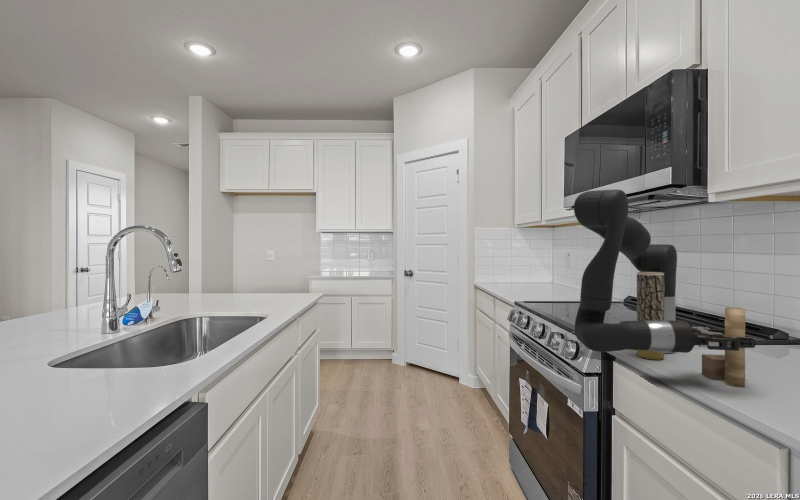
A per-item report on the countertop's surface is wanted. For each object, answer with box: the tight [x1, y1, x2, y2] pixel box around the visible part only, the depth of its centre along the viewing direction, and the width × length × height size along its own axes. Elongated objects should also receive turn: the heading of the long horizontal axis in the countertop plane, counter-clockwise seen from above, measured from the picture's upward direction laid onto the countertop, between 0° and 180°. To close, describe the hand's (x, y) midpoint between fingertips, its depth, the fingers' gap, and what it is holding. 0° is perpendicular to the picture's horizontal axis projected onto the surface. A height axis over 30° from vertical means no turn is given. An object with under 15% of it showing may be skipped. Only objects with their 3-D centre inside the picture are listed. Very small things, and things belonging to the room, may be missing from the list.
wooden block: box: [701, 353, 725, 381], centre depth 95 cm, size 7×4×5 cm, turn 80°
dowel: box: [724, 306, 746, 388], centre depth 90 cm, size 4×4×18 cm
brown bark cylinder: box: [636, 271, 665, 361], centre depth 113 cm, size 7×7×25 cm
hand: (740, 338), depth 90 cm, fingers open, 8 cm apart
